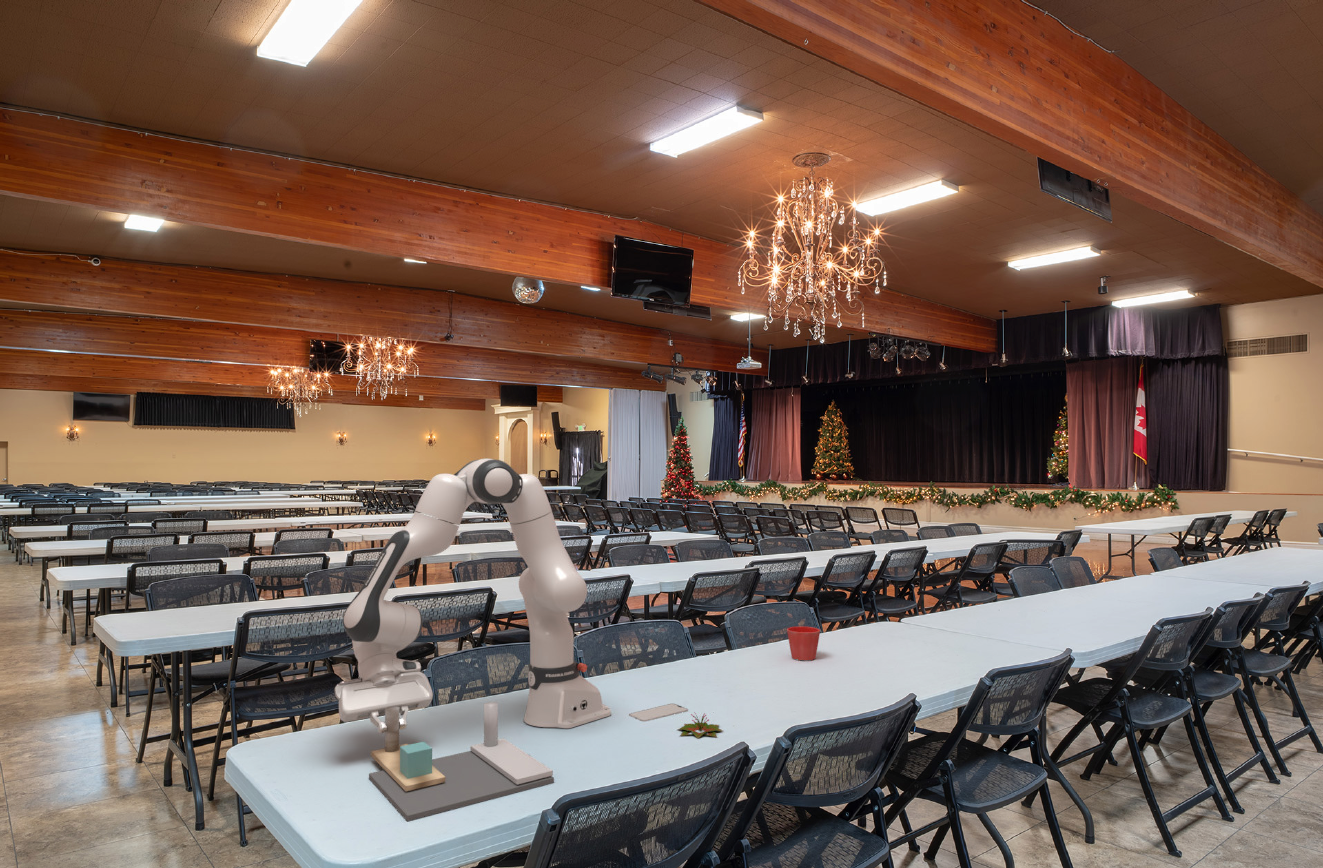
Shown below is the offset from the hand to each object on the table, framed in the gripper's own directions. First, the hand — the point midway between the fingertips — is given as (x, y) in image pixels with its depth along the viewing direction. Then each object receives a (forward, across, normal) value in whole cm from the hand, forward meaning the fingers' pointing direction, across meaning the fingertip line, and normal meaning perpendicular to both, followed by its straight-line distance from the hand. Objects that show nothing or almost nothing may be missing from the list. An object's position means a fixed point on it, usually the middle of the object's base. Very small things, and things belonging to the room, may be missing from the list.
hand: (393, 729), depth 176 cm
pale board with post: (+18, +19, -10) cm, 28 cm away
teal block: (+14, 0, -8) cm, 16 cm away
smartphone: (+10, +67, 0) cm, 68 cm away
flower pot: (-4, +140, +14) cm, 141 cm away
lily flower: (+23, +67, -12) cm, 72 cm away
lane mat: (+18, +8, -9) cm, 22 cm away
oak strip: (+11, 0, -3) cm, 11 cm away
